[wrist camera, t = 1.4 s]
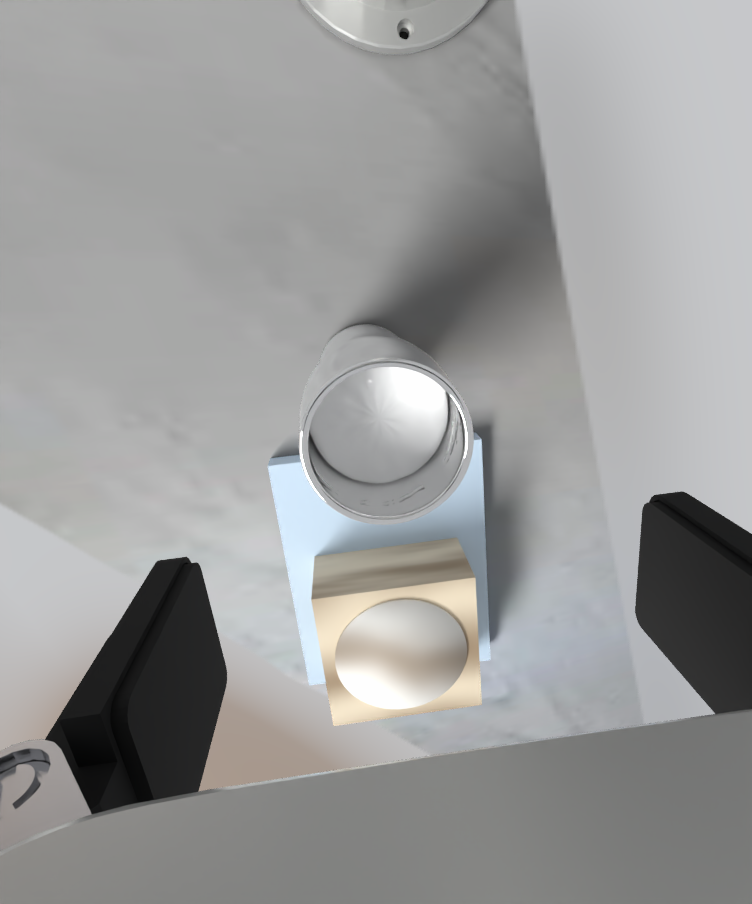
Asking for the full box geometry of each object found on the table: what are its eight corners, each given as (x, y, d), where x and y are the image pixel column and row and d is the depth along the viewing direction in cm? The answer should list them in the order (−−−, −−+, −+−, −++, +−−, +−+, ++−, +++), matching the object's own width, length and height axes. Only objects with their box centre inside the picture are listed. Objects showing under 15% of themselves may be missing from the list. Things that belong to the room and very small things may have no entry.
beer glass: (411, 307, 32) (469, 335, 18) (425, 414, 34) (488, 512, 20) (300, 327, 32) (273, 370, 18) (322, 432, 34) (314, 544, 20)
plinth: (314, 556, 36) (311, 601, 31) (457, 537, 36) (476, 579, 31) (333, 671, 39) (333, 728, 34) (464, 652, 39) (482, 707, 34)
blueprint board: (270, 458, 35) (267, 466, 33) (475, 432, 35) (481, 439, 34) (310, 670, 41) (309, 685, 39) (485, 646, 41) (490, 659, 40)
